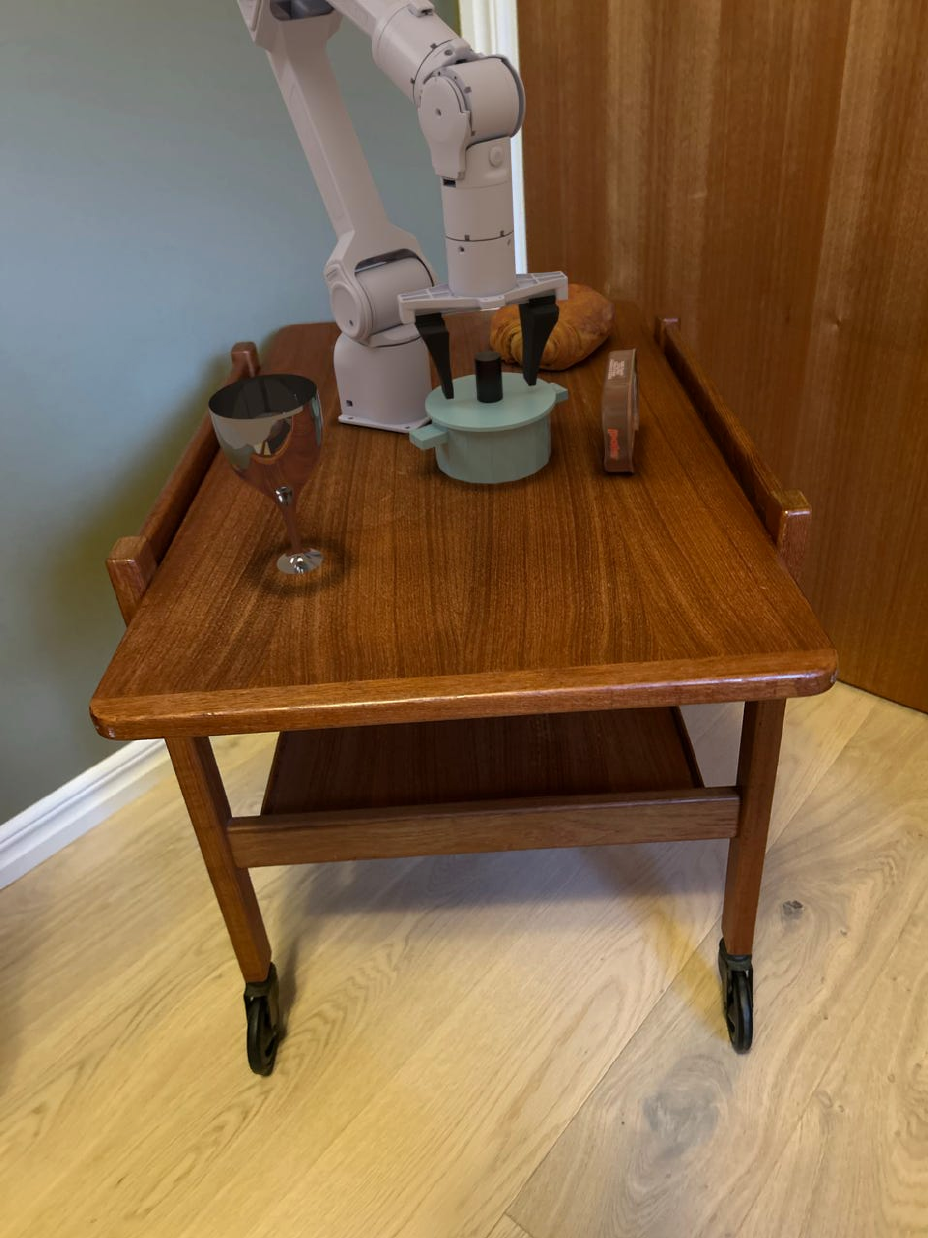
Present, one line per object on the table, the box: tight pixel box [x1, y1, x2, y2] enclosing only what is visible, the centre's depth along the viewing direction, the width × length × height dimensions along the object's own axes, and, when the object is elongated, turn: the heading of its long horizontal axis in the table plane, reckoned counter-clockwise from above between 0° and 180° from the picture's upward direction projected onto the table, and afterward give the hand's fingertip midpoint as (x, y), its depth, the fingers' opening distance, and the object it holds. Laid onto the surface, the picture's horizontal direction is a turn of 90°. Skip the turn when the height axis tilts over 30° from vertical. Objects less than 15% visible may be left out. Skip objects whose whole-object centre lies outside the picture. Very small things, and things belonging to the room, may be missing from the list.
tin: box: [600, 348, 640, 474], centre depth 85 cm, size 15×3×8 cm, turn 168°
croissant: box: [489, 283, 617, 372], centre depth 107 cm, size 14×16×8 cm
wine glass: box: [207, 373, 324, 575], centre depth 71 cm, size 8×8×15 cm
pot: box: [408, 382, 569, 485], centre depth 86 cm, size 11×16×6 cm
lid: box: [425, 350, 556, 432], centre depth 83 cm, size 12×12×5 cm
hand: (489, 388), depth 83 cm, fingers open, 7 cm apart
